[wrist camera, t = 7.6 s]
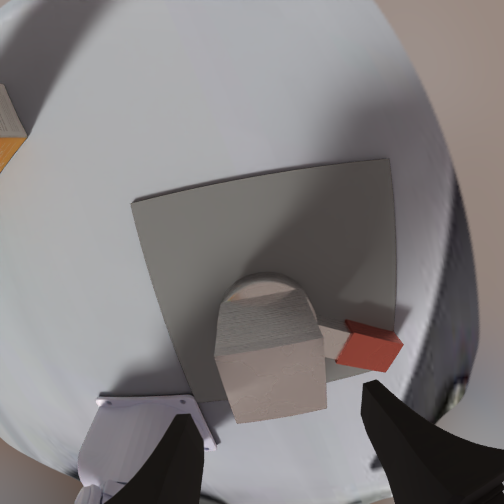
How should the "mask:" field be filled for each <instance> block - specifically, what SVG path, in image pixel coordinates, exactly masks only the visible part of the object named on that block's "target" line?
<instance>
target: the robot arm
mask: <svg viewBox="0 0 504 504" xmlns="http://www.w3.org/2000/svg"><path fill="white" fill-rule="evenodd" d="M182 400H184V401H182ZM96 403H97V404H98V406H99V409H98V411H97V414H96V416H95V418H94V420H93V422H92V424H91V427H90V429H89V431H88V433H87V435H86V438H85V440H84V442H83V444H82V447H81V449H80V452H79V456H78V473H79V477H80V480H81V482H82V484H83V485H84V487H83V488H82V489H81V491H80V492H79V494H78V496H77V498H76V500H75V502H74V504H199V499H200V491H201V483H202V475H203V467H204V451H215V450H217V445H216V443H215V441H214V439H213V436H212V434H211V432H210V430H209V428H208V426H207V424H206V422H205V419H204V417H203V415H202V413H201V411H200V408H199V406H198V404H197V402H196V400H195V398H194V396H192V395H172V396H151V397H97V399H96ZM361 417H362V420H363V423H364V426H365V429H366V432H367V435H368V437H369V439H370V441H371V443H372V445H373V447H374V450H375V452H376V454H377V456H378V458H379V460H380V462H381V464H382V466H383V469H384V471H385V473H386V476H387V478H388V481H389V485H390V488H391V491H392V494H393V498H394V502H395V504H504V493H503V492H502V491H503V490H504V485H503V484H502V482H503V481H504V450H502V449H497V448H492V447H487V446H483V445H479V444H476V443H473V442H470V441H468V440H465V439H462V438H460V437H457V436H455V435H453V434H451V433H449V432H447V431H445V430H443V429H441V428H439V427H437V426H436V425H434V424H432V423H431V422H429V421H428V420H426V419H425V418H423V417H422V416H420V415H419V414H417V413H416V412H415V411H413V410H412V409H411V408H409V407H408V406H407V405H406V404H404V403H403V402H402V401H401V400H400V399H398V398H397V397H396V396H395V395H394V394H393V393H391V392H390V391H389V390H388V389H387V388H386V387H385V386H384V385H383V384H382V383H380V382H379V381H378V380H377V379H376V380H373V381H370V382H366V383H363V391H362V404H361Z"/></svg>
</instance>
